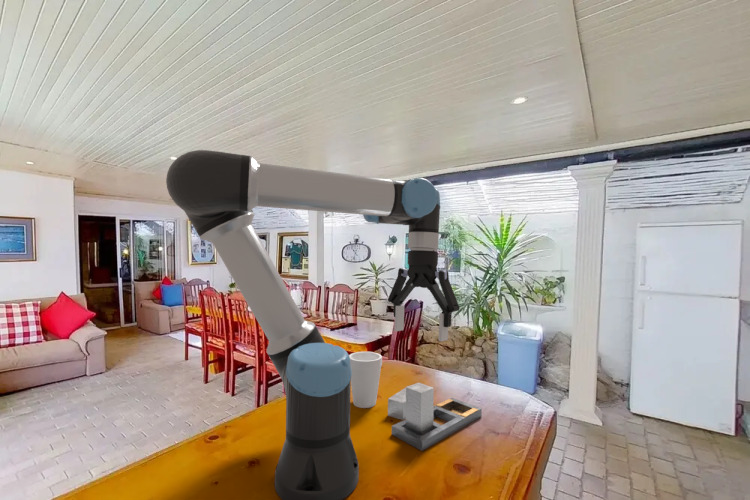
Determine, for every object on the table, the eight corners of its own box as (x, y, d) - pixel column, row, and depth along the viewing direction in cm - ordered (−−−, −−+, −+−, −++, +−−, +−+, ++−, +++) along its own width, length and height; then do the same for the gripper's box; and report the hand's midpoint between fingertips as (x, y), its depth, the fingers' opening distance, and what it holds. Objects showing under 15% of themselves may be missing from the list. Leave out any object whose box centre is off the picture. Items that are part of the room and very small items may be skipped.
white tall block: (420, 443, 76) (421, 392, 76) (405, 435, 79) (406, 387, 79) (433, 436, 79) (433, 387, 79) (418, 428, 82) (418, 382, 82)
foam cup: (382, 397, 100) (383, 352, 100) (380, 411, 91) (380, 362, 91) (350, 395, 101) (351, 351, 101) (344, 409, 92) (345, 360, 92)
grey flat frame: (422, 451, 73) (422, 440, 73) (391, 434, 79) (391, 425, 79) (481, 416, 89) (481, 407, 89) (452, 405, 95) (452, 397, 95)
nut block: (403, 421, 86) (403, 403, 86) (387, 416, 89) (388, 398, 89) (422, 405, 95) (422, 389, 95) (407, 401, 98) (408, 385, 98)
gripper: (476, 251, 80) (473, 342, 79) (395, 250, 98) (392, 325, 97) (459, 249, 75) (455, 347, 74) (377, 249, 92) (373, 328, 92)
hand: (419, 335), depth 86 cm, fingers open, 13 cm apart
